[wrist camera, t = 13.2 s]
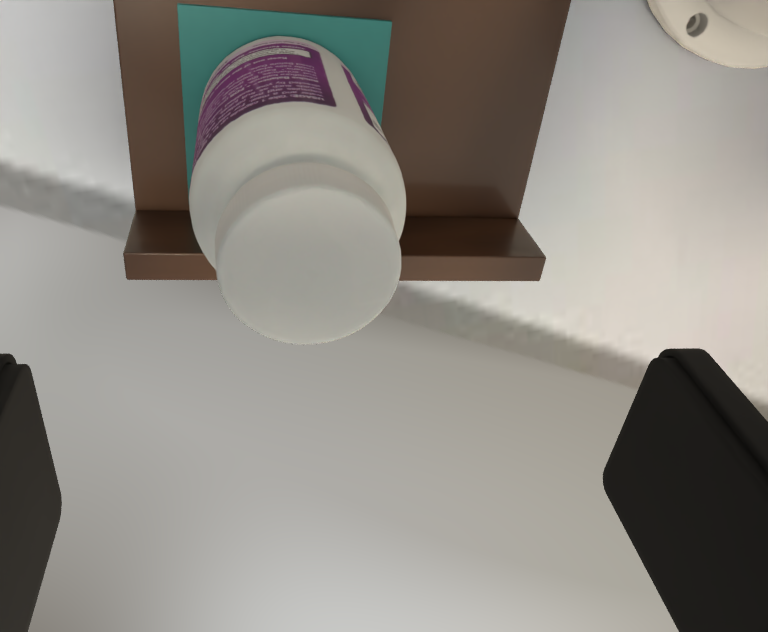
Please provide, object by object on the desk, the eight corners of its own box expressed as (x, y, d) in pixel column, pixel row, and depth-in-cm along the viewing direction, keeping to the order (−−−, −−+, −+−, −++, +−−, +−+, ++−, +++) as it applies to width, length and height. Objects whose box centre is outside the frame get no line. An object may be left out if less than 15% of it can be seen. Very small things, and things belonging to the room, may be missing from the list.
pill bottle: (179, 161, 22) (145, 335, 15) (232, 1, 20) (226, 109, 12) (328, 215, 24) (369, 393, 17) (394, 76, 22) (477, 209, 14)
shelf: (521, -34, 25) (615, 10, 19) (477, 188, 31) (540, 281, 24) (130, -74, 23) (86, -38, 16) (153, 177, 28) (126, 280, 21)
